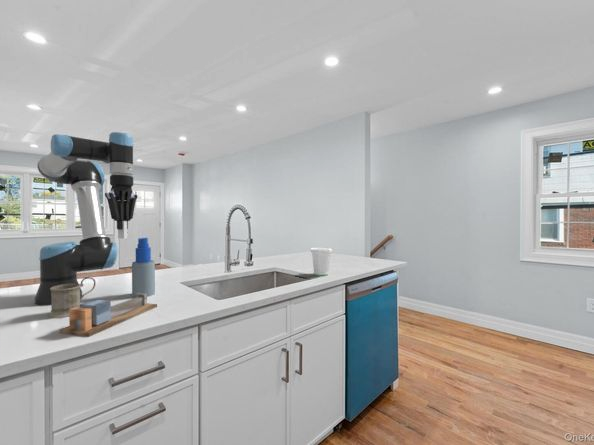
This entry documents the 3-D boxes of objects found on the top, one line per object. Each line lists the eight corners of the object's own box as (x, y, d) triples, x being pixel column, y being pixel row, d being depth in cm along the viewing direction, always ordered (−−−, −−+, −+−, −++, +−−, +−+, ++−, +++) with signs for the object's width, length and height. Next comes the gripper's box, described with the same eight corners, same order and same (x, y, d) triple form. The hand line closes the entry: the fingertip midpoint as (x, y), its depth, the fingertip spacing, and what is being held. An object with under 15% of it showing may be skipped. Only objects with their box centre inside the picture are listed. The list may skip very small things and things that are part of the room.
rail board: (59, 332, 87) (59, 309, 87) (133, 304, 114) (132, 286, 114) (89, 336, 85) (88, 312, 84) (157, 306, 112) (156, 288, 112)
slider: (80, 323, 91) (79, 304, 91) (94, 317, 96) (94, 299, 96) (96, 325, 90) (96, 305, 89) (110, 319, 94) (110, 301, 94)
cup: (332, 276, 166) (332, 250, 166) (310, 276, 166) (310, 249, 166) (330, 272, 179) (330, 247, 178) (310, 272, 179) (310, 247, 178)
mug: (55, 320, 98) (54, 284, 97) (43, 314, 103) (42, 280, 102) (102, 308, 110) (101, 276, 109) (89, 304, 115) (89, 273, 115)
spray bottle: (145, 290, 135) (145, 236, 134) (159, 293, 131) (159, 237, 130) (127, 295, 126) (126, 238, 126) (141, 298, 123) (140, 239, 122)
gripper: (115, 172, 102) (116, 240, 103) (143, 177, 115) (144, 237, 115) (98, 173, 104) (99, 239, 104) (127, 177, 116) (128, 236, 117)
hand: (122, 238), depth 110 cm, fingers closed
